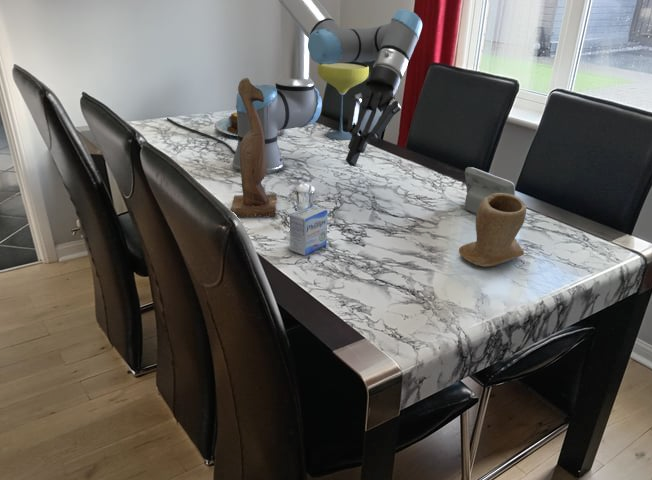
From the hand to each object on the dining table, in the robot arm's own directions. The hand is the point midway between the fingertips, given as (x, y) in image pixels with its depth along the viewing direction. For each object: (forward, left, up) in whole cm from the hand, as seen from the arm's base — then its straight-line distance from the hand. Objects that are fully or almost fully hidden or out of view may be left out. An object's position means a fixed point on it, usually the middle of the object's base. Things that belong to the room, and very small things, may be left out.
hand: (350, 163), depth 134 cm
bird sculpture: (-21, -12, -16) cm, 29 cm away
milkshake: (-8, -6, -16) cm, 19 cm away
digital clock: (+16, +37, -16) cm, 43 cm away
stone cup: (+34, +14, -16) cm, 40 cm away
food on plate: (-85, +31, -16) cm, 92 cm away
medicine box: (+4, -16, -16) cm, 23 cm away
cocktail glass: (-63, +55, -16) cm, 85 cm away
